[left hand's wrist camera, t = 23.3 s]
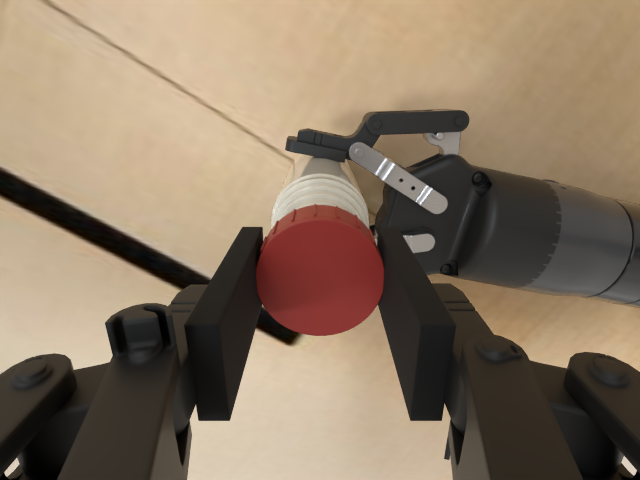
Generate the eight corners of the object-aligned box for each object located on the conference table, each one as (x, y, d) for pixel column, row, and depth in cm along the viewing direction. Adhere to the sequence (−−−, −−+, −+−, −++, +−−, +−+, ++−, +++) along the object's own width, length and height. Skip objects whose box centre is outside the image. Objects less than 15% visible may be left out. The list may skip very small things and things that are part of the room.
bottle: (314, 130, 29) (306, 176, 12) (363, 169, 30) (416, 259, 13) (277, 180, 30) (226, 281, 14) (325, 216, 32) (331, 349, 15)
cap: (237, 246, 14) (226, 266, 13) (337, 179, 13) (339, 191, 12) (305, 328, 16) (303, 357, 14) (400, 273, 15) (410, 295, 13)
